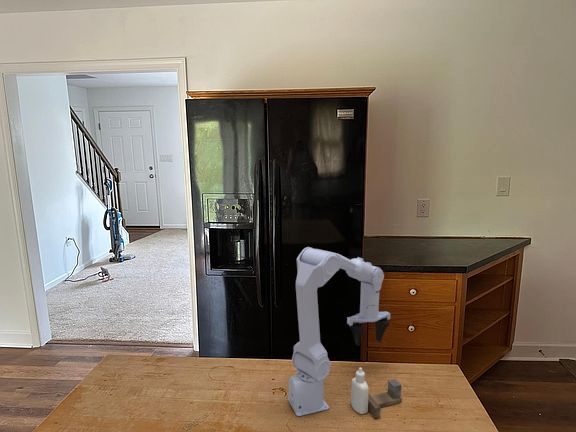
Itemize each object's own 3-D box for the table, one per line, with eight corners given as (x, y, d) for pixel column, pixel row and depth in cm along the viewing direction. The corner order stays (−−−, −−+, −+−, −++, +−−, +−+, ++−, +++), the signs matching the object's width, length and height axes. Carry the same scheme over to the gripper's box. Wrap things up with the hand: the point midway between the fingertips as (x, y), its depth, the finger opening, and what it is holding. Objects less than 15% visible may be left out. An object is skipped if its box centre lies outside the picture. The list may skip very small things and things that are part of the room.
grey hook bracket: (375, 418, 102) (376, 401, 101) (355, 394, 112) (355, 378, 111) (409, 409, 105) (410, 393, 105) (386, 386, 116) (387, 371, 115)
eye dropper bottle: (366, 402, 109) (367, 362, 107) (368, 415, 104) (369, 374, 102) (350, 401, 109) (351, 362, 107) (351, 414, 104) (353, 373, 102)
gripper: (382, 295, 128) (380, 333, 130) (343, 300, 123) (342, 340, 125) (394, 303, 121) (392, 343, 123) (353, 309, 116) (352, 350, 119)
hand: (368, 342), depth 124 cm, fingers open, 7 cm apart
